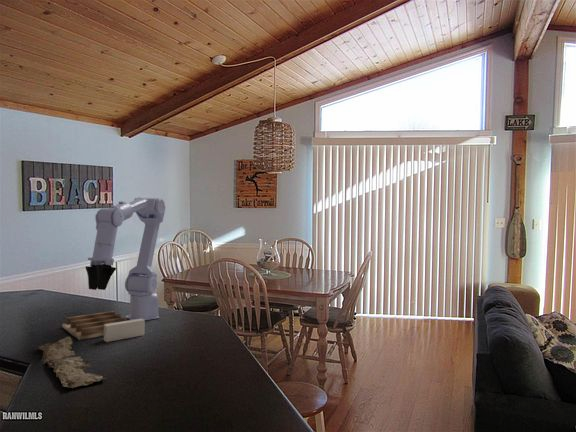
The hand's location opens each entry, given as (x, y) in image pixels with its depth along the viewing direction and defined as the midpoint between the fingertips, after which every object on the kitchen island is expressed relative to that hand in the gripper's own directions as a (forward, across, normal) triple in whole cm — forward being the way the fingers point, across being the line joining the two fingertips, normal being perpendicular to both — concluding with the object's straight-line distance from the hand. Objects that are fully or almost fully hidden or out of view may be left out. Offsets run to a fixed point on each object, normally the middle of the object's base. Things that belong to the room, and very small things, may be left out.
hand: (96, 289), depth 140 cm
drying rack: (+12, -14, +8) cm, 20 cm away
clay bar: (+14, 0, +11) cm, 18 cm away
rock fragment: (+21, +14, -9) cm, 27 cm away
